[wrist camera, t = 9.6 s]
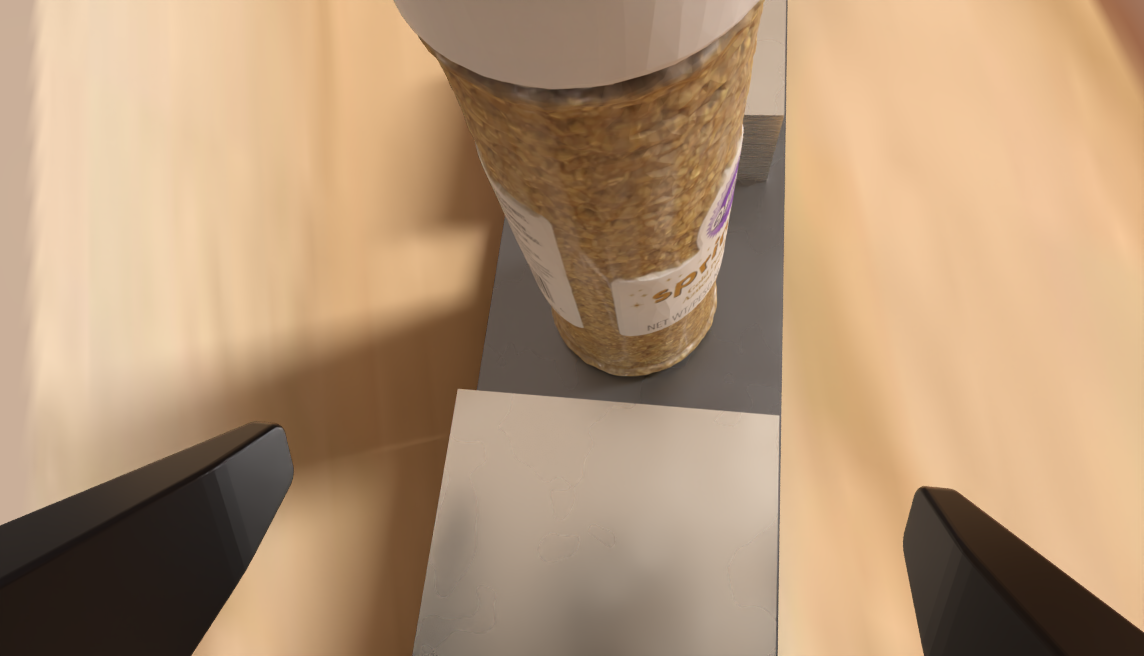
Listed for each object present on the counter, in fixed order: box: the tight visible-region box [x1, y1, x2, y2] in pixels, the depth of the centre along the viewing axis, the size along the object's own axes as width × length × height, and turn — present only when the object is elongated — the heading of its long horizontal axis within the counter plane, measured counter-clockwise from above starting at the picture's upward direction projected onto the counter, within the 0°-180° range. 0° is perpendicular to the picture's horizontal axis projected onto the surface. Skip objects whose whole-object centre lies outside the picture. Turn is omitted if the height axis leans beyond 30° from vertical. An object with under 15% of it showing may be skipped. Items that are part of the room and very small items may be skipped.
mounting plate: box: [412, 0, 787, 656], centre depth 17 cm, size 26×8×4 cm, turn 173°
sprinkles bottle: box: [394, 0, 765, 376], centre depth 12 cm, size 5×5×14 cm
